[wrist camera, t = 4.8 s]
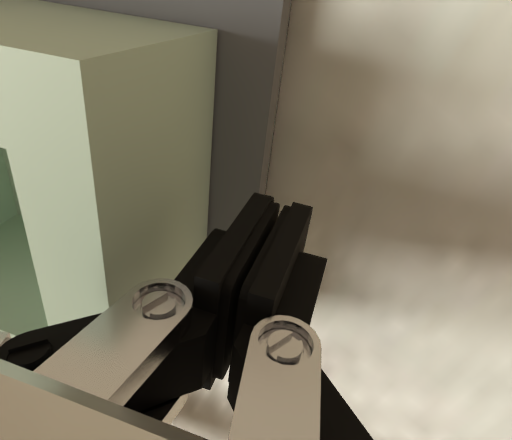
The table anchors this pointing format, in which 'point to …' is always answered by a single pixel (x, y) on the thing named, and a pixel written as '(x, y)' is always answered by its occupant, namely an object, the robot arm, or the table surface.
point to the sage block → (98, 156)
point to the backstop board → (230, 87)
